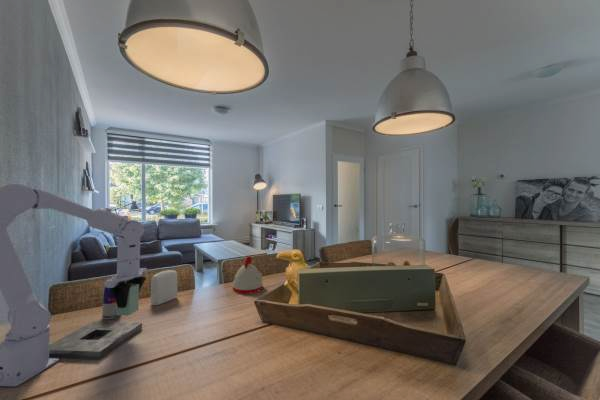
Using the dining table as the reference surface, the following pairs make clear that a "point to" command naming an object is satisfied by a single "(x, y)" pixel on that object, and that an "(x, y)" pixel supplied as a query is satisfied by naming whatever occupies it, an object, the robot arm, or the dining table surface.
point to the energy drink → (108, 304)
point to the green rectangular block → (130, 301)
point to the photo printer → (163, 287)
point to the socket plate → (84, 348)
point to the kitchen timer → (247, 278)
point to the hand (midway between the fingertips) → (127, 304)
